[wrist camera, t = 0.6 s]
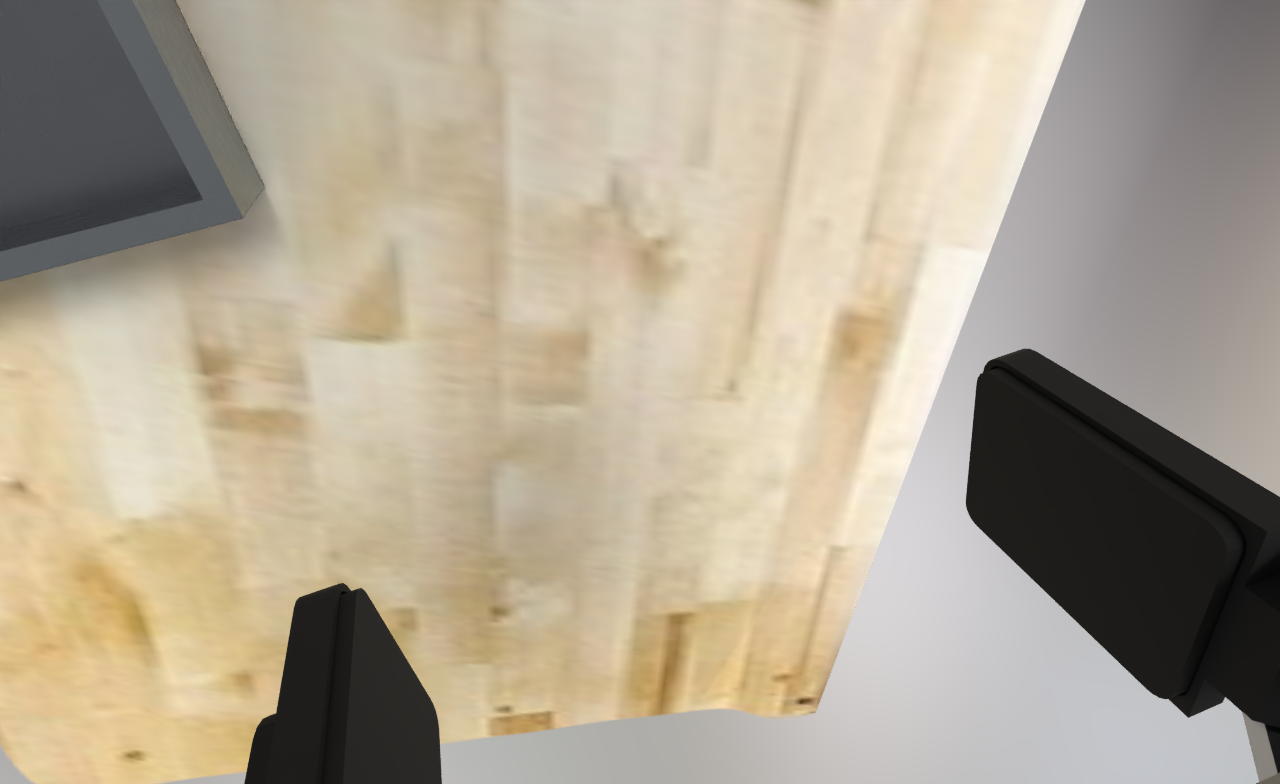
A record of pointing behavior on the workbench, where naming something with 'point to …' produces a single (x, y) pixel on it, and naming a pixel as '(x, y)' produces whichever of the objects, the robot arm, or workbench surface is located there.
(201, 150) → the well box
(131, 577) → the workbench surface
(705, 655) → the workbench surface
